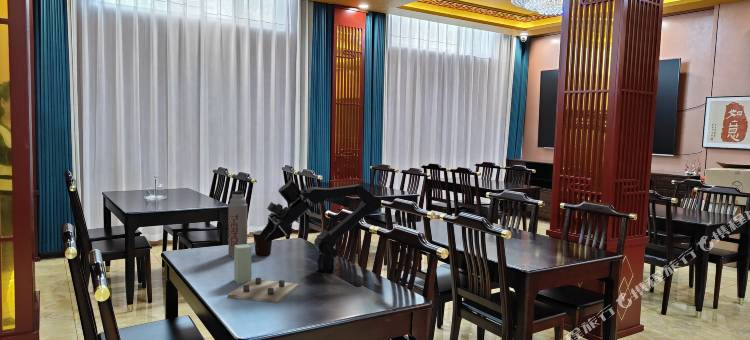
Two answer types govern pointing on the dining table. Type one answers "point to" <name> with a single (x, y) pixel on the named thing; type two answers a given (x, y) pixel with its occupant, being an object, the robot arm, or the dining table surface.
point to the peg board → (263, 290)
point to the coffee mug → (261, 244)
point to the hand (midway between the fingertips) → (262, 238)
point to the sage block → (242, 263)
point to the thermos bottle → (237, 221)
